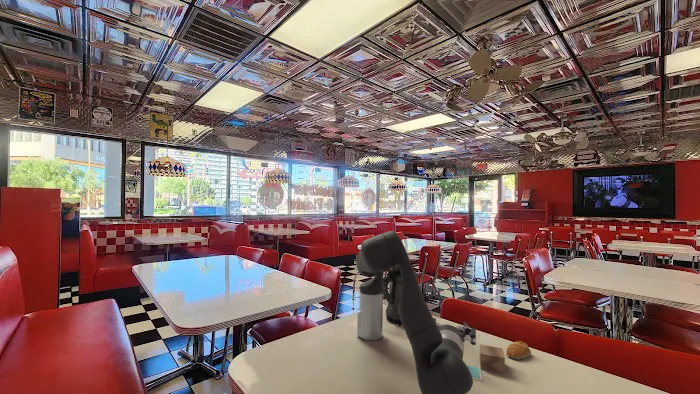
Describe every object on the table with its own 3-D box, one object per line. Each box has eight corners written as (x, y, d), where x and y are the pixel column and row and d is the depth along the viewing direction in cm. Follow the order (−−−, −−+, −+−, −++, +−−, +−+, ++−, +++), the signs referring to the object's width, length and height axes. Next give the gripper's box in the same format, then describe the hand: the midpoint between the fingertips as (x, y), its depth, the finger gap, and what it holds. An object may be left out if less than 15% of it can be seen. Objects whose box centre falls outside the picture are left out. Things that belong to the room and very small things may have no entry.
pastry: (521, 363, 103) (521, 352, 103) (501, 356, 108) (501, 345, 108) (532, 355, 109) (532, 344, 109) (512, 348, 114) (512, 337, 114)
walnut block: (480, 369, 99) (480, 353, 99) (479, 359, 105) (479, 344, 105) (504, 374, 96) (504, 357, 96) (502, 363, 103) (502, 348, 103)
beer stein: (427, 317, 142) (428, 263, 143) (411, 332, 126) (412, 270, 126) (394, 310, 151) (395, 259, 152) (375, 323, 135) (377, 265, 135)
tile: (457, 375, 94) (457, 374, 94) (457, 364, 101) (457, 363, 101) (481, 380, 92) (481, 378, 92) (480, 368, 99) (480, 367, 99)
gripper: (478, 334, 75) (475, 313, 91) (419, 326, 80) (425, 307, 95) (478, 366, 75) (475, 339, 90) (418, 355, 80) (425, 332, 95)
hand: (449, 323), depth 93 cm, fingers open, 8 cm apart
